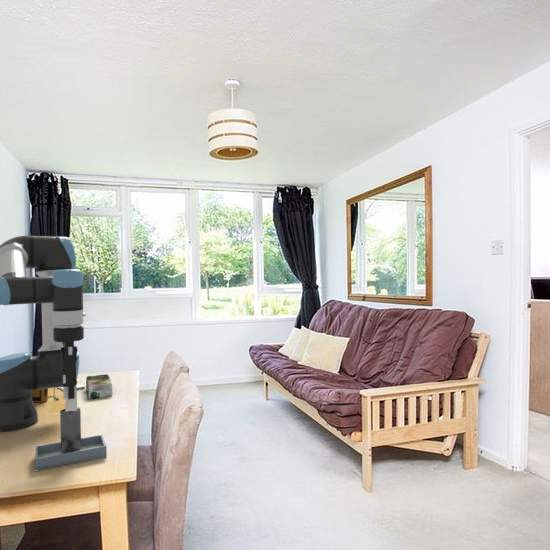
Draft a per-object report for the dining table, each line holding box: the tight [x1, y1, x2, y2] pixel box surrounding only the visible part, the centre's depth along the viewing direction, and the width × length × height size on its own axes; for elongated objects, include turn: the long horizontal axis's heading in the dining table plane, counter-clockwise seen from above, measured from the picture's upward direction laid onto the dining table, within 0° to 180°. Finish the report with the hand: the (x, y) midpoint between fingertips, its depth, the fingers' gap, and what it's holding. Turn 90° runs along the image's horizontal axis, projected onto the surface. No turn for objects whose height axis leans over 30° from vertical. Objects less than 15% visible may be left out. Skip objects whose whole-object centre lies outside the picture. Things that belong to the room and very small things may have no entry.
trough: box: [34, 434, 108, 471], centre depth 119 cm, size 10×17×3 cm, turn 118°
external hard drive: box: [56, 383, 86, 391], centre depth 196 cm, size 2×8×12 cm
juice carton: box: [85, 374, 114, 399], centre depth 188 cm, size 20×10×6 cm, turn 27°
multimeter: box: [29, 351, 59, 403], centre depth 178 cm, size 15×10×20 cm
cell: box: [59, 407, 82, 454], centre depth 119 cm, size 5×5×13 cm
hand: (69, 403), depth 119 cm, fingers open, 13 cm apart
